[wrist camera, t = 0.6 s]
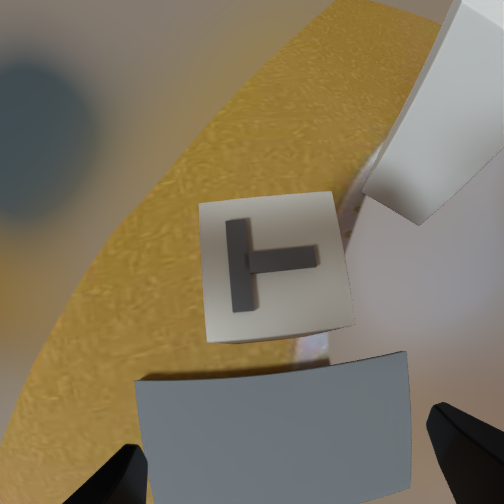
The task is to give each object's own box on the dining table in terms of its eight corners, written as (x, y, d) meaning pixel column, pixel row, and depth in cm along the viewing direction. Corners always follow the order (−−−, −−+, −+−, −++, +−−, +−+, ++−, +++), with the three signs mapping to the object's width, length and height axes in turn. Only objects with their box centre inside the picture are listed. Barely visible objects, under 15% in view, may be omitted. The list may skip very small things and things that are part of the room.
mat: (405, 483, 18) (410, 487, 17) (161, 512, 18) (158, 517, 17) (400, 351, 21) (406, 351, 20) (139, 379, 21) (134, 380, 20)
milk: (381, 146, 27) (473, -61, 6) (434, 178, 26) (562, 2, 5) (360, 193, 25) (480, -53, 4) (419, 228, 24) (594, 39, 3)
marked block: (304, 336, 22) (357, 324, 10) (235, 344, 22) (206, 341, 10) (296, 269, 24) (332, 188, 11) (229, 276, 23) (197, 201, 11)
